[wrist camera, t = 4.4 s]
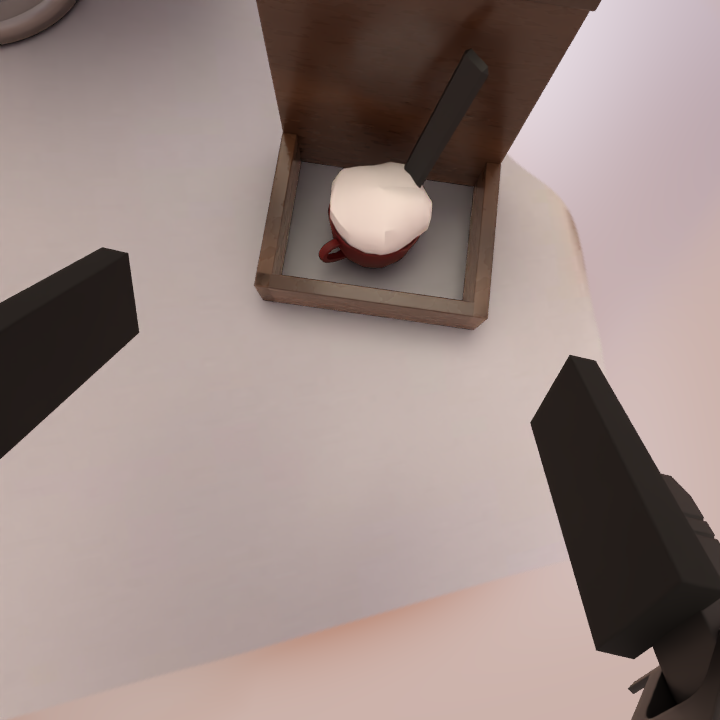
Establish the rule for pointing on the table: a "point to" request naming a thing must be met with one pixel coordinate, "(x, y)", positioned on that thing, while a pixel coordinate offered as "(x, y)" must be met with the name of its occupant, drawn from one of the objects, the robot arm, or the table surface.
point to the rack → (403, 118)
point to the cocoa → (397, 184)
